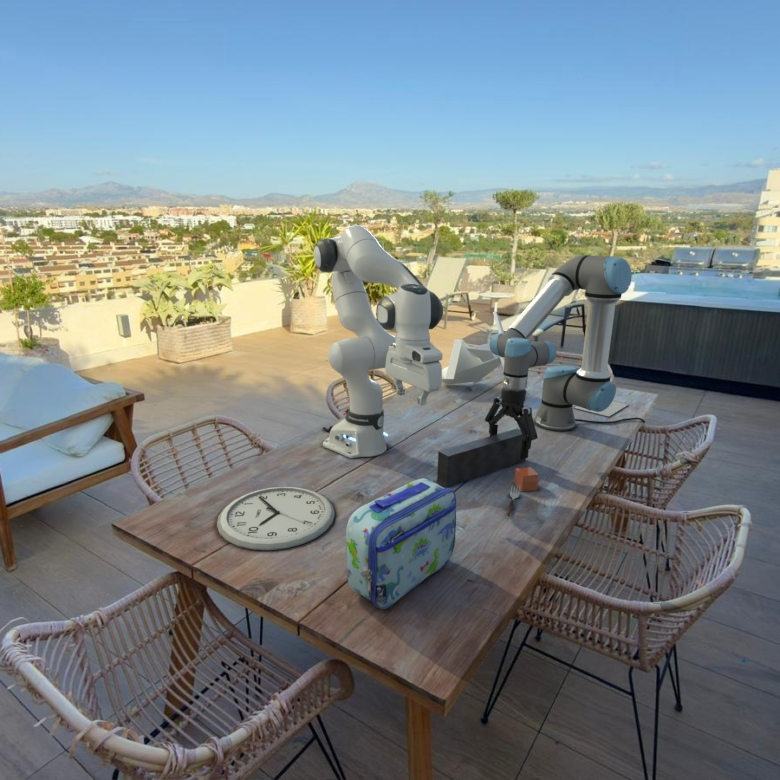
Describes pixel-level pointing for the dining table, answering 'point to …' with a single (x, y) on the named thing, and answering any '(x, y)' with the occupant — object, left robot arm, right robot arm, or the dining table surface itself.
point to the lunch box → (400, 540)
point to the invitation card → (607, 409)
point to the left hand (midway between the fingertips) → (410, 399)
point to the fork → (513, 495)
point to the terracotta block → (526, 479)
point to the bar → (479, 457)
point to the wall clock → (275, 518)
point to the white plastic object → (472, 361)
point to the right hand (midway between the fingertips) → (507, 450)
